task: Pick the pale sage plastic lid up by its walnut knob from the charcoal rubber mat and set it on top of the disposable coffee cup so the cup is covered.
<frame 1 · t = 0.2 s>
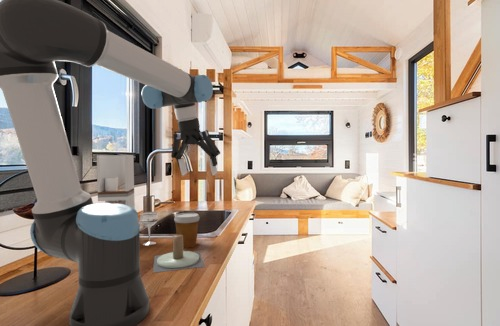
hand: (199, 174, 108), 27 cm above the worktop, tool tilted 15°, fingers open, 13 cm apart
grey box-shaped tower: (118, 243, 114), on the worktop
lid: (178, 260, 91), point 1 cm above the worktop, touching mat
mat: (178, 262, 91), on the worktop
disposable coffee cup: (187, 247, 108), on the worktop
wineglass: (149, 244, 112), on the worktop
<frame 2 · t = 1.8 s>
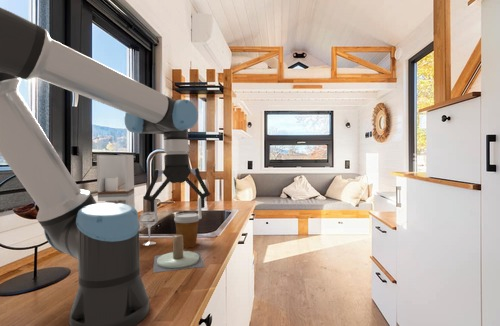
hand: (178, 220, 91), 14 cm above the worktop, tool pointing down, fingers open, 13 cm apart
nothing on the worktop moved.
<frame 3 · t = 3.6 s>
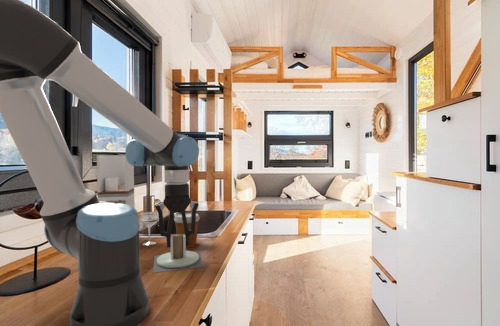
hand: (178, 256, 91), 2 cm above the worktop, tool pointing down, fingers closed on lid, 3 cm apart
lid: (178, 260, 91), point 1 cm above the worktop, touching gripper
everything else where it was.
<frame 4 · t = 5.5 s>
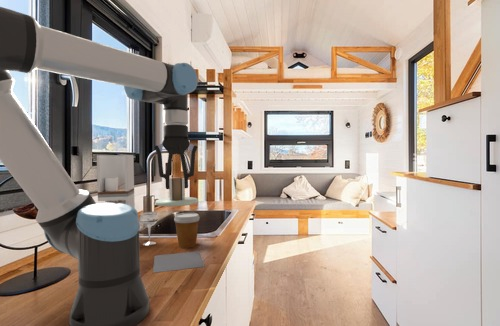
hand: (177, 198, 91), 20 cm above the worktop, tool pointing down, fingers closed on lid, 3 cm apart
lid: (177, 202, 91), point 19 cm above the worktop, touching gripper
everything else where it was.
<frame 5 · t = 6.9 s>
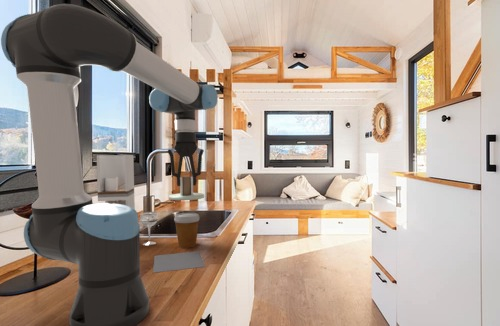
hand: (186, 194, 108), 20 cm above the worktop, tool pointing down, fingers closed on lid, 3 cm apart
lid: (186, 197, 108), point 18 cm above the worktop, touching gripper
everything else where it was.
when the fingers open (15 cm above the worktop, at t = 7.8 s): lid drops 2 cm, resting on disposable coffee cup.
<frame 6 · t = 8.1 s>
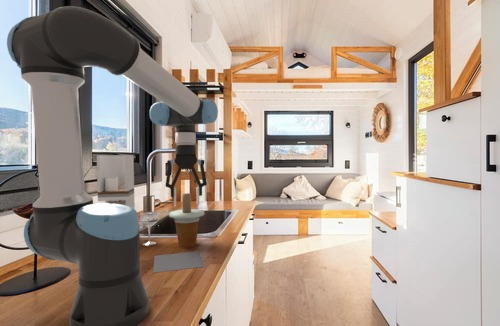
hand: (186, 205, 108), 16 cm above the worktop, tool pointing down, fingers open, 8 cm apart
lid: (186, 214, 108), point 12 cm above the worktop, touching disposable coffee cup
disposable coffee cup: (187, 247, 108), on the worktop, touching lid
everything else where it was.
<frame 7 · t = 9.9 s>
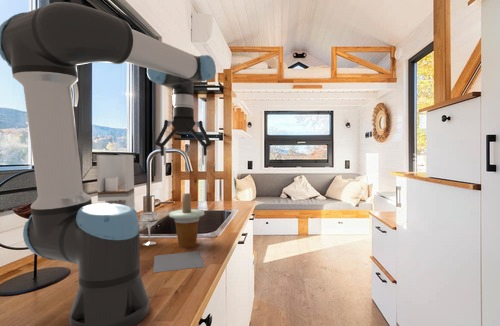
hand: (184, 164, 107), 31 cm above the worktop, tool pointing down, fingers open, 13 cm apart
nothing on the worktop moved.
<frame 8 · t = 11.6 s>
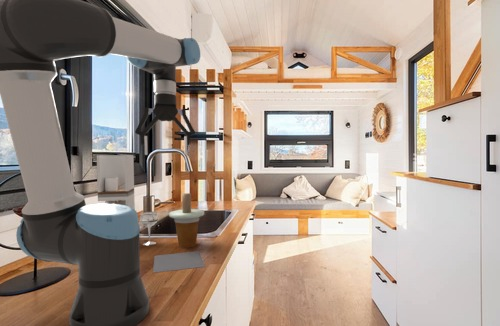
hand: (166, 154, 102), 35 cm above the worktop, tool pointing down, fingers open, 13 cm apart
nothing on the worktop moved.
at the end: lid 0.1 cm off-centre on the disposable coffee cup, point 12.2 cm above the disposable coffee cup's base; lid tilted 0°; disposable coffee cup tilted 0° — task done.
